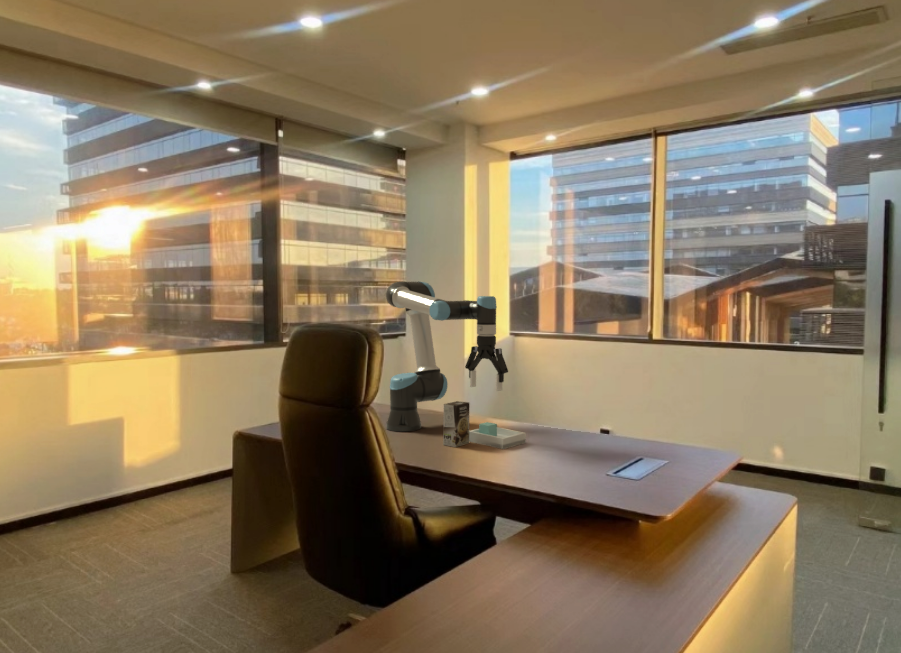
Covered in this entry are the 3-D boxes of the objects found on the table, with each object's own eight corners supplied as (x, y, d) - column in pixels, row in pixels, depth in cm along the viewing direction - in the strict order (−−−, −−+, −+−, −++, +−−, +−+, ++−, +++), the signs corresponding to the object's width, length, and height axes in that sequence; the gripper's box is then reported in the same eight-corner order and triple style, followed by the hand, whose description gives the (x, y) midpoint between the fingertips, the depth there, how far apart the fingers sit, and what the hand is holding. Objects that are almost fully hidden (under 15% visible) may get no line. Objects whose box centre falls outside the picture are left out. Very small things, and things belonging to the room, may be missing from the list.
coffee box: (456, 447, 238) (456, 405, 237) (442, 445, 242) (442, 403, 241) (470, 443, 245) (470, 402, 244) (456, 440, 249) (456, 400, 248)
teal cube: (479, 436, 250) (479, 423, 249) (487, 434, 253) (487, 422, 253) (488, 438, 246) (488, 425, 246) (496, 436, 250) (496, 423, 249)
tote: (467, 441, 248) (467, 431, 248) (490, 435, 258) (491, 425, 258) (503, 449, 235) (503, 438, 235) (525, 442, 245) (525, 432, 245)
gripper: (456, 334, 253) (456, 386, 254) (505, 337, 236) (504, 393, 237) (469, 333, 258) (468, 384, 260) (517, 336, 241) (516, 391, 242)
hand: (486, 388), depth 248 cm, fingers open, 13 cm apart
